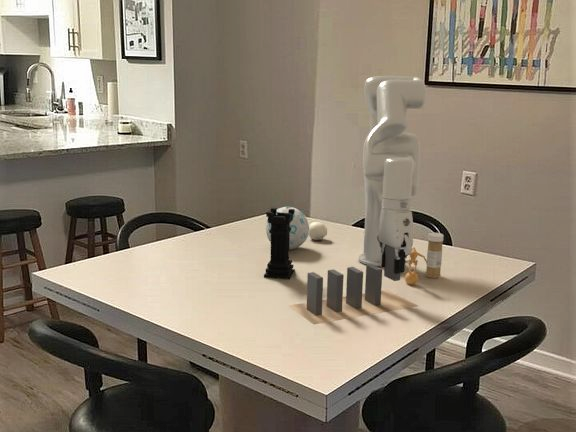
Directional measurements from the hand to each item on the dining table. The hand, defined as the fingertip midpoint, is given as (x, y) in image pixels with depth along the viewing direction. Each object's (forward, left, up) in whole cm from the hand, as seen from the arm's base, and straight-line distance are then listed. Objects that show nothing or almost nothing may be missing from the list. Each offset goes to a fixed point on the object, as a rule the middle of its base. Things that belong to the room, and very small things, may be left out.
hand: (392, 269), depth 176 cm
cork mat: (+12, 0, -9) cm, 15 cm away
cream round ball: (-13, -65, -9) cm, 67 cm away
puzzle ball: (+3, -58, -9) cm, 59 cm away
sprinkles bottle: (-25, -13, -9) cm, 30 cm away
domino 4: (+6, 0, -9) cm, 10 cm away
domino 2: (+18, 0, -9) cm, 20 cm away
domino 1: (+24, 0, -9) cm, 25 cm away
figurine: (-13, -8, -9) cm, 18 cm away
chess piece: (+18, -33, -9) cm, 39 cm away
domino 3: (+12, 0, -9) cm, 15 cm away
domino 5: (0, 0, -2) cm, 2 cm away
